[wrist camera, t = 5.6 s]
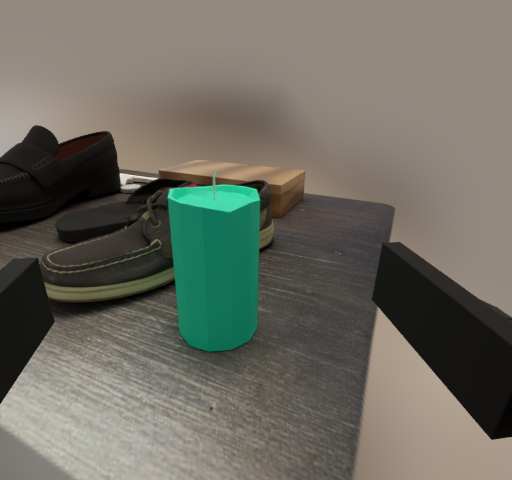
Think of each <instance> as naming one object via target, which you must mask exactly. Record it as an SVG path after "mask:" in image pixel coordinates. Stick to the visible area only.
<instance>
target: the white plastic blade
mask: <svg viewBox="0 0 512 480" xmlns="http://www.w3.org/2000/svg"><path fill="white" fill-rule="evenodd" d="M156 179H157V178H150V177H142V176H135V175H128V174H120V182H121V185H126V184H127V183H133V181H136V182H145V183H149V182H151V181H153V180H156Z"/></svg>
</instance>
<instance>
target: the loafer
mask: <svg viewBox="0 0 512 480" xmlns="http://www.w3.org/2000/svg"><path fill="white" fill-rule="evenodd" d="M120 189H121V182H120V172H119V167H118V163H117V152H116V148H115V145H114V140H113V137H112V135H111V133H110V132H107V131H102V132H96V133H92V134H88V135H84V136H80V137H77V138H74V139H71V140H68V141H65V142H63V143H60V144H58V141H57V139H56V137H55V136H54V135H53V133H52V132H51V131H49V130H48V129H46V128H44V127H42V126H33V127H32V128H31V130H30V131H29V133H28V134H27V136H26V137H25V138H24V140H23V141H22V142H21V143H18V144H17V145H15V146H14V147H13V148H11V149H10V150H9V151H8V152H6V153H5V154H4V155H3V156H2V157H0V223H6V224H9V223H13V222H20V221H29V220H34V219H39V218H43V217H46V216H49V215H51V214H52V213H54V212H55V211H56V210H58V209H59V208H60V207H61V206H62V205H63V204H64V203H66V202H67V201H68V200H69V199H71V198H72V197H73V196H75V195H76V194H78V195H83V196H87V197H94V196H99V195H104V194H107V193H111V192H116V191H118V190H120Z"/></svg>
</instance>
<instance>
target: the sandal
mask: <svg viewBox="0 0 512 480" xmlns="http://www.w3.org/2000/svg"><path fill="white" fill-rule="evenodd" d="M165 187H176V188H183V187H198V186H197V185H195V184H194V183H193V182H192V181H191V180H189V181H187V180H175V179H168V178H167V179H166V178H161V179H156V180H153V181H151V182H149V183H148V184H146V185H144V186H142V187H140V188H139V189H137V190H136V191H134V192H133V193H132V194H131V195H130V196H129V197H128V200H127V201H126V202H120V203H112V204H108V205H104V206H100V207H97V208H93V209H87V210H82V211H77V212H73V213H69V214H67V215H65V216H63V217H61V218H60V219H59V220H58V221H57V222H56V225H55V226H56V229H57V232H58V234H59V236H60V237H61V238H62V239H63V240H65V241H68V242H82V241H86V240H89V239H92V238H96V237H99V236H104V235H107V234H111V233H114V232H116V231H118V230H120V229H123V228H125V227H126V225H127V224H126V222H127V220H128V219H129V218H131V217H132V216H134V215H136V214H137V211H138V209H139V208H140V207H142V206H146V205H147V199H148V198H149V197H150V196H152V195H153V194H154V193H155V192H157V191H158V190H160V189H162V188H165Z"/></svg>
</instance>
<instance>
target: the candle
mask: <svg viewBox="0 0 512 480" xmlns="http://www.w3.org/2000/svg"><path fill="white" fill-rule="evenodd" d="M168 208H169V219H170V230H171V241H172V252H173V263H174V274H175V285H176V296H177V307H178V318H179V329H180V335H181V336H182V337H183V338H184V339H185V341H186V342H187V343H188V344H189V345H190V346H192V347H196V348H199V349H202V350H205V351H208V352H212V351H224V350H232V349H234V348H236V347H238V346H240V345H242V344H244V343H246V342H248V341H249V340H250V339H251V337H252V336H253V334H254V332H255V331H256V329H257V313H258V270H259V228H260V198H259V195H258V191H257V189H254V188H249V187H245V186H236V185H225V184H224V185H215V170H213V186H204V187H183V188H172V189H170V190H169V194H168Z"/></svg>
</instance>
